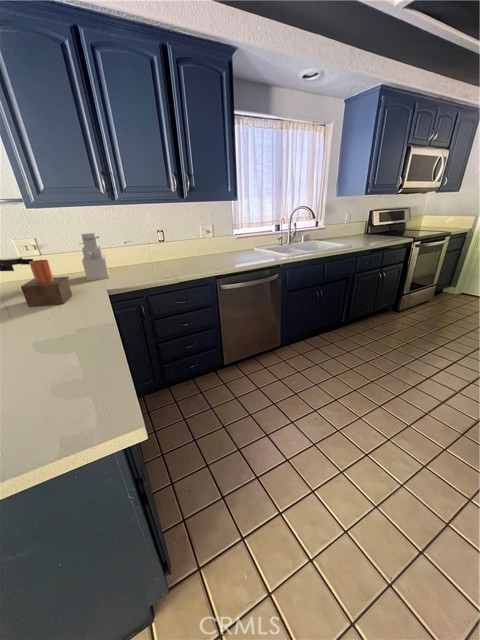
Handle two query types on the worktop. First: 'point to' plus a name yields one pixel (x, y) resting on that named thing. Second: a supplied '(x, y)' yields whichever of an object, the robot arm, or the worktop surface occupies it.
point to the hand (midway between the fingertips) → (23, 264)
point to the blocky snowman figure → (93, 258)
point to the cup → (41, 271)
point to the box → (47, 295)
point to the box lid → (54, 283)
